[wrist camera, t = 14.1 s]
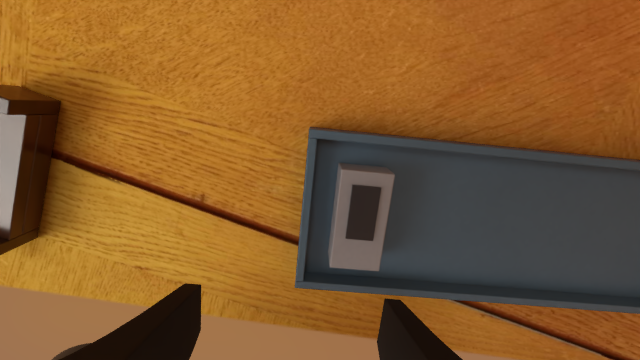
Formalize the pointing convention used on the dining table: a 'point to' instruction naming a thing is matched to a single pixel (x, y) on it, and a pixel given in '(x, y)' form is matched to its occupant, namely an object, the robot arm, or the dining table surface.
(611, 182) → the tray
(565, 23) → the dining table surface
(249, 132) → the dining table surface
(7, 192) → the brown drawer handle
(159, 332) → the robot arm
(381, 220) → the grey block
